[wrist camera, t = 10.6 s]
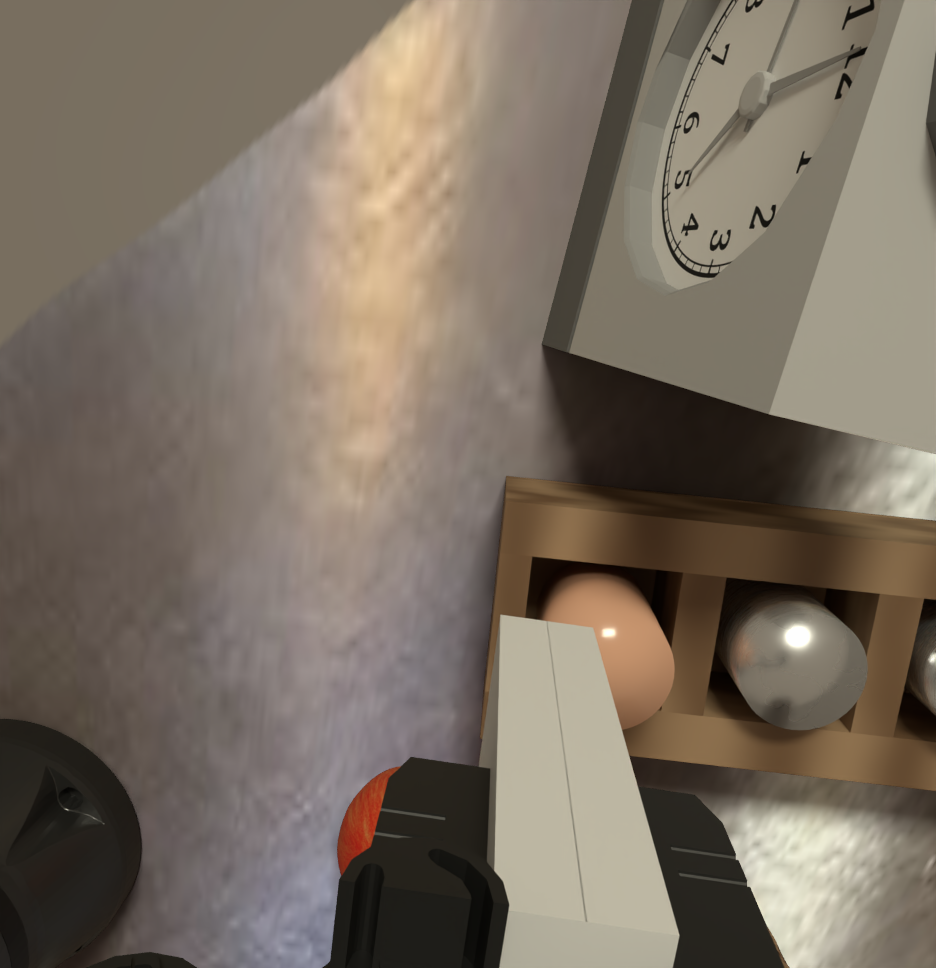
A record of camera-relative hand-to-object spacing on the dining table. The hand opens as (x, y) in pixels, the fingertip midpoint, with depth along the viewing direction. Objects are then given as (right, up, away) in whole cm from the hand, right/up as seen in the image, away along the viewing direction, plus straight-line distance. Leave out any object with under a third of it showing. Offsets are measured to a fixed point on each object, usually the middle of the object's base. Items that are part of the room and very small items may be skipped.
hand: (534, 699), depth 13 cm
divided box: (+14, -3, +30) cm, 34 cm away
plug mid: (+14, -4, +30) cm, 33 cm away
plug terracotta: (+5, -3, +28) cm, 28 cm away
